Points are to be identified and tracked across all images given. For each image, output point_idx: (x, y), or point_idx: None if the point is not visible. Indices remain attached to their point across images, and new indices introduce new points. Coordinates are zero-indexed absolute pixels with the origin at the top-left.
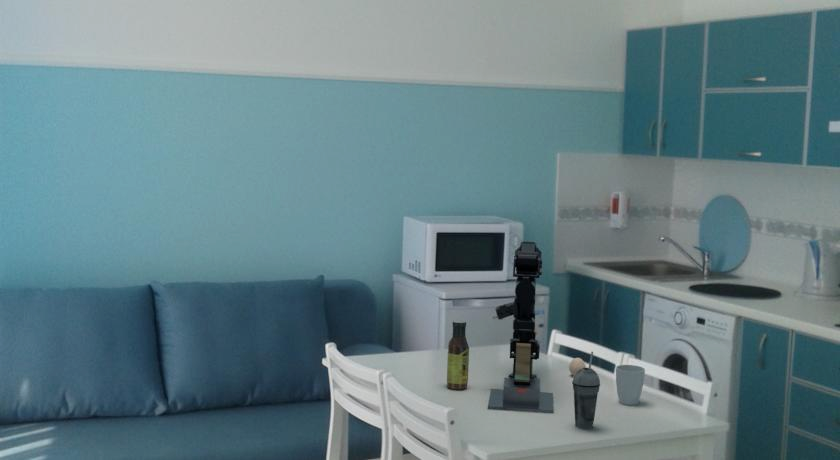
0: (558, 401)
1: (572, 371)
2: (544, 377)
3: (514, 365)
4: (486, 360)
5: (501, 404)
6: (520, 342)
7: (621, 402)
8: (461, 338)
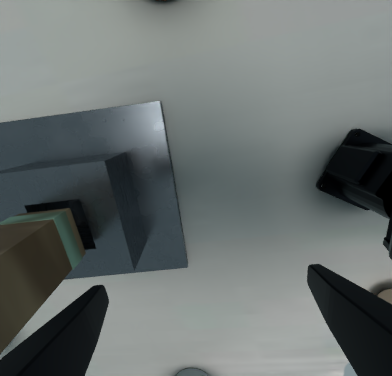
0: (143, 277)
1: (384, 299)
2: (363, 227)
3: (367, 155)
4: None
5: (12, 162)
6: (23, 347)
7: (180, 373)
8: None
